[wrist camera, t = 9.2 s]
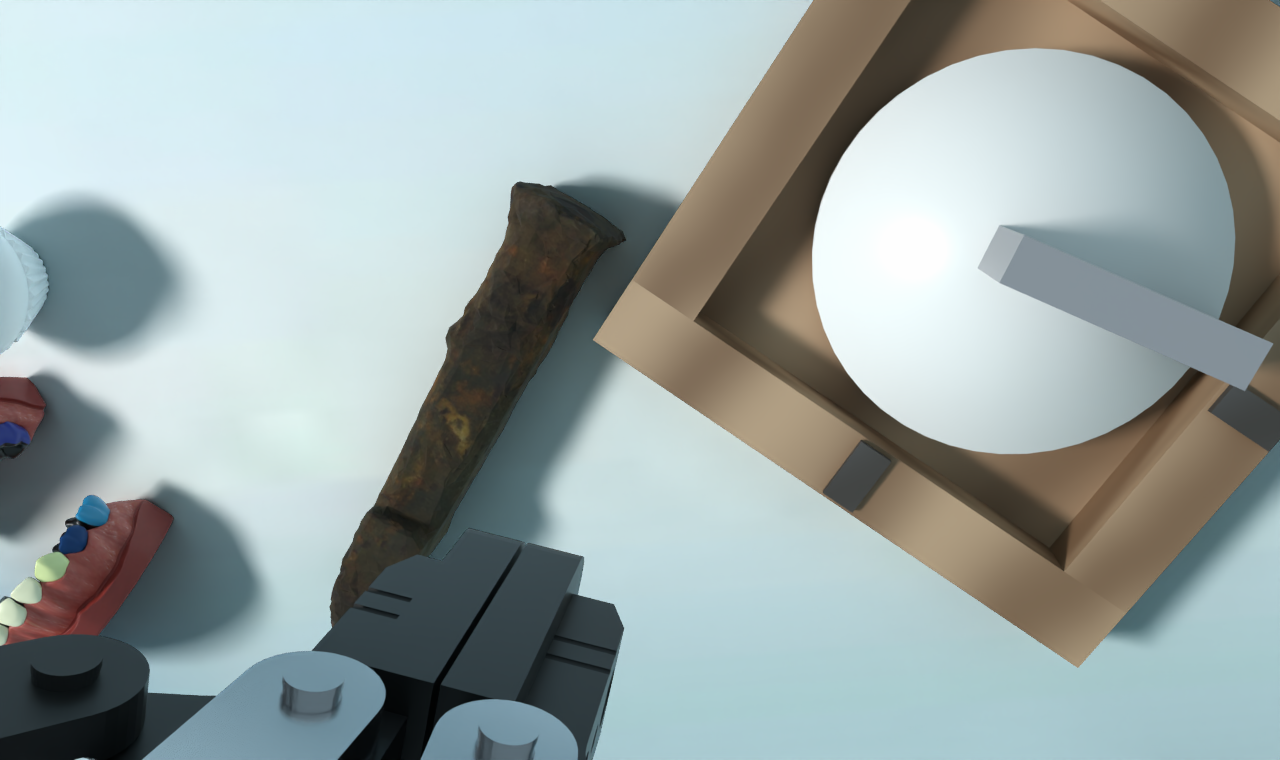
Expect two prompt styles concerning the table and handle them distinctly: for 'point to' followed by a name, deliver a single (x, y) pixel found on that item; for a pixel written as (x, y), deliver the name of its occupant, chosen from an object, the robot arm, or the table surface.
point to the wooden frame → (869, 437)
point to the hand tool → (478, 380)
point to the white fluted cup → (19, 287)
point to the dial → (1028, 253)
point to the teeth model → (74, 545)
